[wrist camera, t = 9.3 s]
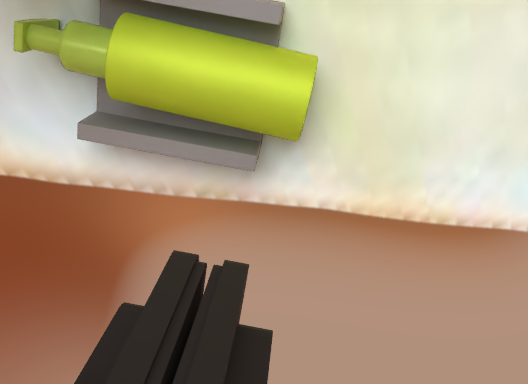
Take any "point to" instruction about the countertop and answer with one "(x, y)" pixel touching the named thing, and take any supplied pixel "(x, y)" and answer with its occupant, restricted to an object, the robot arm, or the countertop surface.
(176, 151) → the cradle
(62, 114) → the countertop surface
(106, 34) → the soap dispenser
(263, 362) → the robot arm
